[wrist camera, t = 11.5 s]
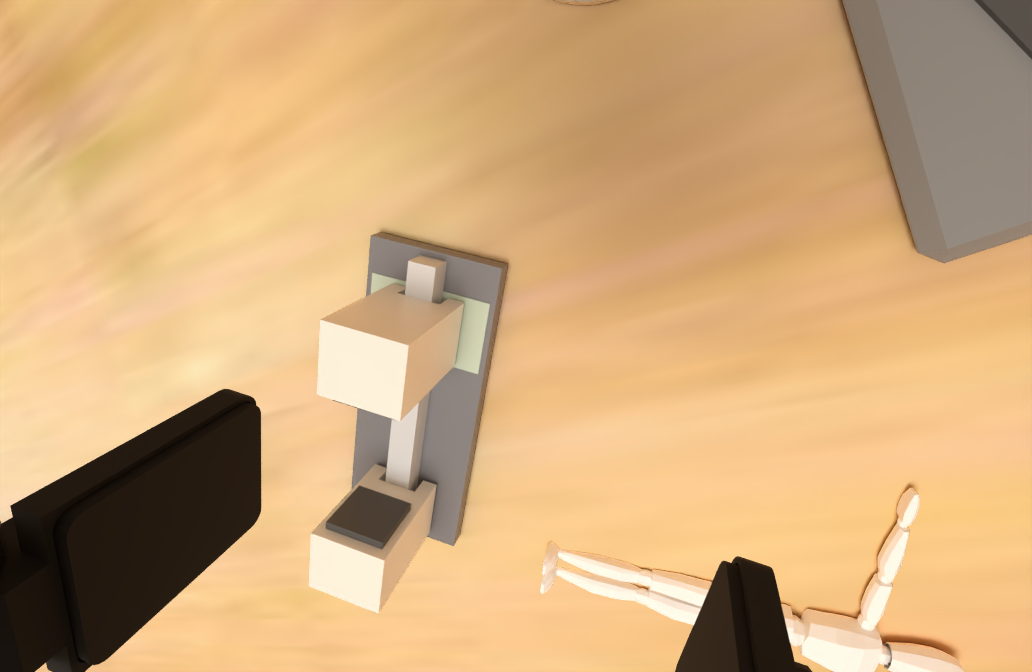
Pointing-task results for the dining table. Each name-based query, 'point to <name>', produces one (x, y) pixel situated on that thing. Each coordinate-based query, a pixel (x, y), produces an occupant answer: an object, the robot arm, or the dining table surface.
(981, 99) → the grey tray
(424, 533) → the rail board
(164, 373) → the dining table surface
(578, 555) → the articulated figure
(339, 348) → the cream rectangular block
